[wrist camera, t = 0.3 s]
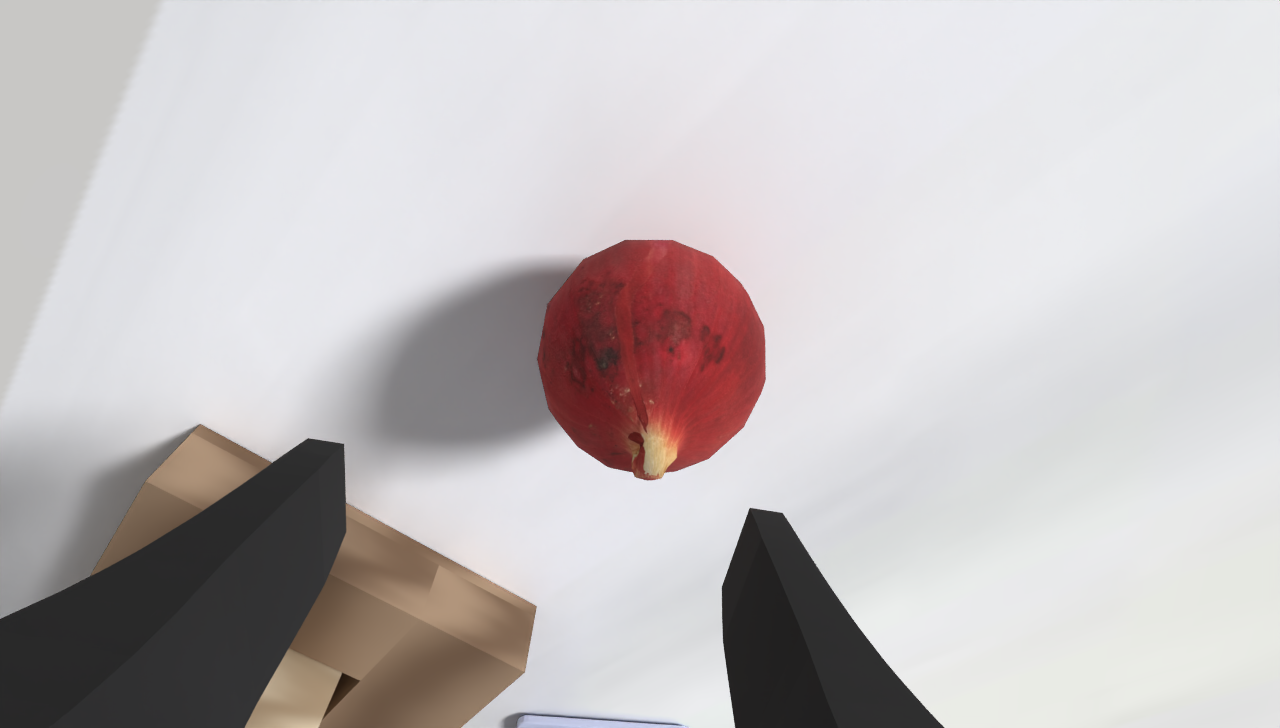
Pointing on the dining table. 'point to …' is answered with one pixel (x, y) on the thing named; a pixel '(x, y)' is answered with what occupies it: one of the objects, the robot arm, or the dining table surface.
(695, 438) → the red rounded piece
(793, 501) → the dining table surface
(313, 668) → the peg
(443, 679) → the pocket block
